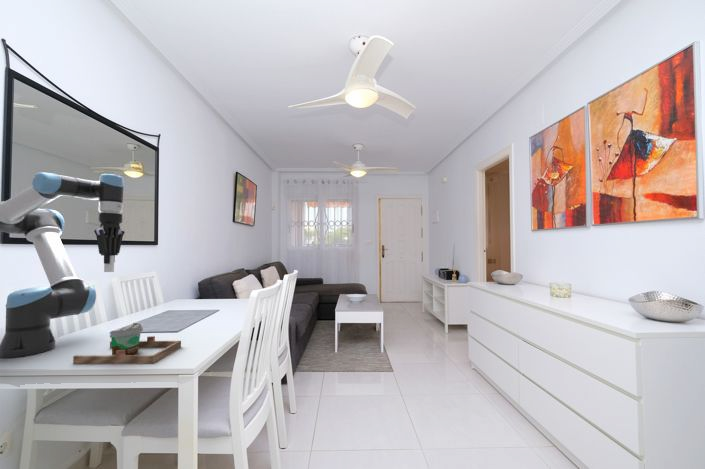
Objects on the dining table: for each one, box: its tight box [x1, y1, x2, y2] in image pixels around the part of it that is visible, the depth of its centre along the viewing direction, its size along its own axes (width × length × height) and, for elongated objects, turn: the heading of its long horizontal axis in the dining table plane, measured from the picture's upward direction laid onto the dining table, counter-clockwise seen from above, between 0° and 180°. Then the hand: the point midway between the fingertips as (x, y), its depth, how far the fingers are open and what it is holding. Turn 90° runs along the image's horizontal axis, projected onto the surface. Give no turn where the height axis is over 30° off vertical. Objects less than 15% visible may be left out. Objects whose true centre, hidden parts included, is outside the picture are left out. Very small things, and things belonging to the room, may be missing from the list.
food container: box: [109, 322, 144, 355], centre depth 113 cm, size 12×6×10 cm, turn 1°
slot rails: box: [72, 335, 182, 365], centre depth 112 cm, size 27×17×4 cm, turn 91°
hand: (108, 271), depth 123 cm, fingers closed
